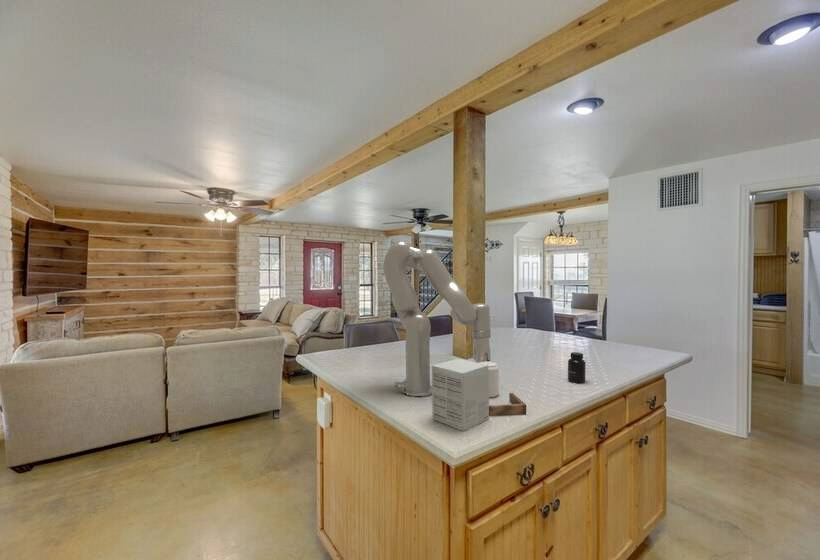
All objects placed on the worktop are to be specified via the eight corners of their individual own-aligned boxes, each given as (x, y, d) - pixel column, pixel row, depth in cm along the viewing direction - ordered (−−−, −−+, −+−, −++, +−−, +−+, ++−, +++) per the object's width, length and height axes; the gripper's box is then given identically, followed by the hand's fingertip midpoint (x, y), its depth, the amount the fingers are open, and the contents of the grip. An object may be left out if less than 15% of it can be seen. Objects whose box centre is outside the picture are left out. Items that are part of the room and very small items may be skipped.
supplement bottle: (568, 382, 152) (567, 354, 152) (567, 378, 158) (567, 351, 158) (586, 384, 149) (586, 355, 149) (585, 379, 156) (584, 352, 156)
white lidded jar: (499, 398, 134) (498, 366, 134) (476, 397, 136) (476, 365, 136) (498, 391, 142) (498, 361, 142) (477, 390, 144) (476, 360, 144)
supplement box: (457, 408, 126) (457, 358, 125) (489, 419, 116) (489, 364, 116) (431, 419, 117) (430, 365, 116) (463, 432, 107) (463, 373, 107)
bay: (486, 416, 118) (486, 407, 118) (476, 402, 130) (476, 394, 130) (526, 414, 120) (526, 405, 120) (512, 401, 132) (512, 392, 132)
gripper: (467, 331, 155) (469, 374, 155) (477, 338, 140) (479, 385, 140) (484, 330, 155) (486, 373, 156) (496, 336, 141) (498, 383, 141)
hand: (483, 378), depth 148 cm, fingers closed
